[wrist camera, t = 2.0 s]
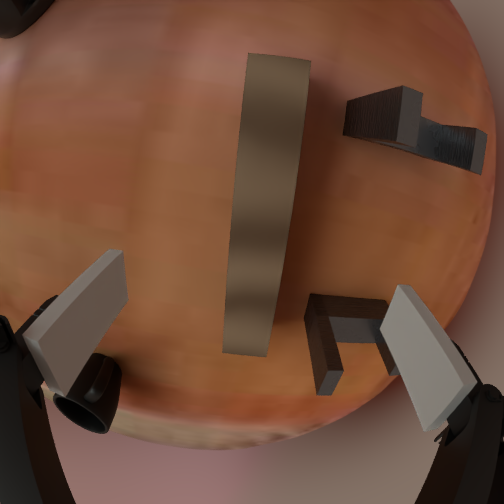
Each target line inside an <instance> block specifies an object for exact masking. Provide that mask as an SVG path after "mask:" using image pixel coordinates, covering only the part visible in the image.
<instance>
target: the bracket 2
mask: <svg viewBox="0 0 504 504" xmlns="http://www.w3.org/2000/svg"><path fill="white" fill-rule="evenodd" d="M422 96H423V93H421V92H418V91H416V90H413V89H411V88H408V87H406V86H399V87H395V88H391V89H388V90H384V91H380V92H376V93H373V94H369V95H366V96H362V97H359V98H356V99H352V100H349V101H347V108H346V115H345V123H344V130H343V135H344V136H349V137H353V138H357V139H361V140H365V141H369V142H373V143H377V144H381V145H384V146H388V147H392V148H395V149H398V150H402V151H405V152H408V153H411V154H415V155H418V156H421V157H424V158H427V159H431V160H434V161H438V162H441V163H445V164H448V165H451V166H455V167H458V168H461V169H464V170H467V171H470V172H473V173H476V174H479V175H481V173H482V167H483V162H484V155H485V149H486V142H487V134H486V133H484V132H483V131H481V130H479V129H477V128H471V127H461V126H451V125H441V124H439V123H436V122H434V121H431V120H429V119H426V118H424V117H421V116H420V115H421V106H422Z"/></svg>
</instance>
